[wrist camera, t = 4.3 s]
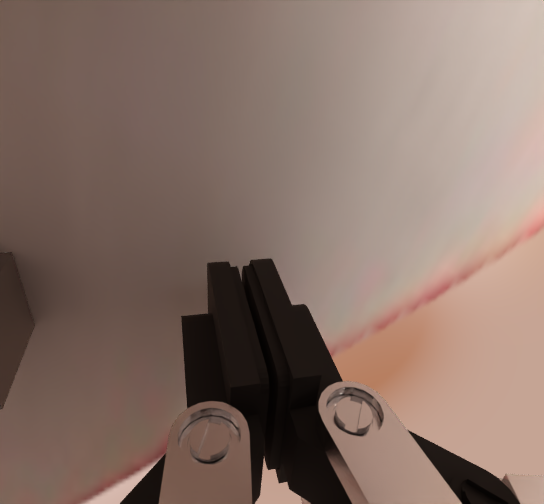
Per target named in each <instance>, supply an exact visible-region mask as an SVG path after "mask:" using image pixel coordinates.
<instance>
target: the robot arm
mask: <svg viewBox="0 0 544 504" xmlns="http://www.w3.org/2000/svg"><path fill="white" fill-rule="evenodd" d="M207 281H208V314H199V315H189V316H181V318H182V333H183V349H184V364H185V379H186V395H187V409H186V410H185V411H184V412H183V413H181V414H180V415H179V416H178V418H177V419H176V421H175V422H174V423H173V425H172V428H171V431H170V434H169V438H168V445H167V451H166V454H165V455H164V456H163V457H162V458H161V459H160V460H159V461H158V462H157V463H156V465H155V466H154V467H153V468H152V469H151V470H150V471H149V472H148V473H147V474H146V476H145V477H144V478H143V479H142V480H141V481H140V482H139V483H138V484H137V485H136V486H135V487H134V489H133V490H132V491H131V492H130V493H129V494H128V495H127V496H126V497H125V498H124V500H123V501H122V502H121V503H120V504H255V502H256V501H257V499H258V498H259V496H260V490H261V480H262V469H263V459H264V457H265V462H266V465H267V468H268V470H271V469H276V473H277V478H278V481H279V483H283V482H288V486H289V489H290V490H292V491H293V492H295V493H296V494H298V495H299V496H301V500H302V504H544V476H536V475H515V474H506V475H505V476H504V478H503V479H499V478H497V477H496V476H494V475H493V474H491V473H489V472H488V471H486V470H484V469H482V468H480V467H479V466H477V465H475V464H473V463H471V462H469V461H467V460H465V459H463V458H461V457H459V456H457V455H455V454H453V453H451V452H449V451H447V450H446V449H443V448H442V447H440V446H438V445H436V444H434V443H432V442H430V441H428V440H426V439H424V438H422V437H420V436H418V435H416V434H414V433H412V432H410V431H409V430H407V429H406V428H405V426H404V425H403V424H402V422H401V421H400V420H399V418H398V417H397V416H396V414H395V413H394V412H393V410H392V409H391V408H390V406H389V405H388V404H387V402H386V401H385V400H384V399H383V398H382V397H381V396H380V395H379V394H378V392H376V391H374V390H373V389H371V388H370V387H368V386H366V385H363V384H361V383H358V382H351V381H342V379H341V377H340V374H339V372H338V370H337V368H336V366H335V364H334V362H333V360H332V358H331V355H330V353H329V351H328V349H327V347H326V345H325V343H324V341H323V339H322V337H321V334H320V332H319V330H318V328H317V326H316V324H315V322H314V320H313V318H312V316H311V314H310V311H309V309H308V308H307V306H306V305H304V304H301V305H292V304H291V302H290V300H289V297H288V295H287V293H286V290H285V288H284V286H283V283H282V281H281V279H280V276H279V274H278V272H277V269H276V267H275V265H274V263H273V260H272V259H257V260H251V261H250V264H249V266H243V268H242V281H241V277H240V274H239V270H238V267H237V266H235V267H230V264H229V262H214V263H208V264H207Z"/></svg>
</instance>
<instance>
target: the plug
mask: <svg viewBox="0 0 544 504" xmlns="http://www.w3.org/2000/svg"><path fill="white" fill-rule="evenodd" d="M34 326H35V324H34V321H33V318H32V314H31V311H30V308H29V305H28V302H27V299H26V296H25V292H24V289H23V286H22V283H21V280H20V277H19V274H18V270H17V267H16V264H15V261H14V258H13V255H12V252H10V253H0V409H2V408H3V406H4V403H5V401H6V398H7V396H8V393H9V390H10V388H11V385H12V383H13V380H14V378H15V375H16V372H17V370H18V367H19V365H20V362H21V360H22V357H23V354H24V352H25V349H26V347H27V344H28V341H29V339H30V336H31V334H32V331H33V329H34Z"/></svg>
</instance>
